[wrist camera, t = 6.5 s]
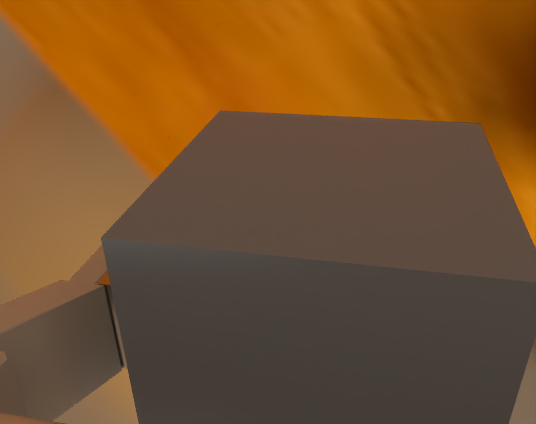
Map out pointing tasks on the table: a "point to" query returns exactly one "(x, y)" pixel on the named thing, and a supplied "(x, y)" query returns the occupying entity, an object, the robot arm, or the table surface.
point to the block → (325, 276)
